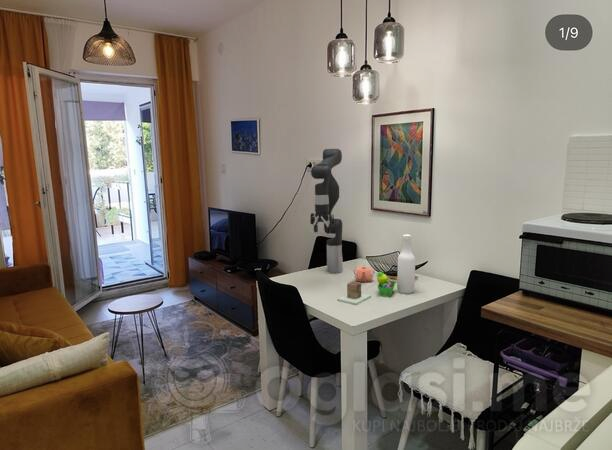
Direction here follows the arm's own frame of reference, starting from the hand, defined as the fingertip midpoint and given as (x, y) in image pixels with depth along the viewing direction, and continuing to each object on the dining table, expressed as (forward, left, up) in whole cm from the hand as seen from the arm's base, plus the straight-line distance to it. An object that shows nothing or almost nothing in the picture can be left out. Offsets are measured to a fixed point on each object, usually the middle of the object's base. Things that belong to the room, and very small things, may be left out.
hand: (322, 232), depth 222 cm
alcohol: (-18, +41, -30) cm, 54 cm away
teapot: (-22, +13, -30) cm, 39 cm away
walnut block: (+8, +26, -29) cm, 39 cm away
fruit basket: (-9, +34, -30) cm, 46 cm away
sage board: (+8, +26, -30) cm, 40 cm away
